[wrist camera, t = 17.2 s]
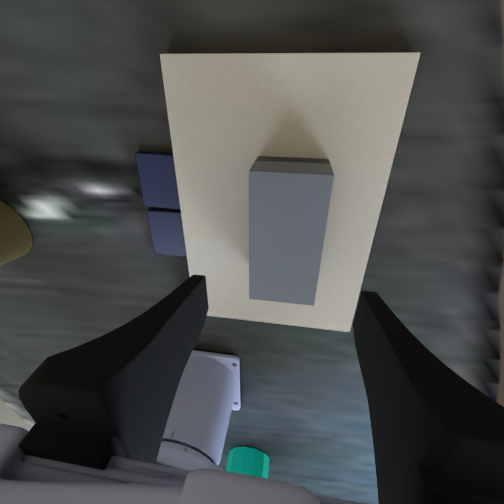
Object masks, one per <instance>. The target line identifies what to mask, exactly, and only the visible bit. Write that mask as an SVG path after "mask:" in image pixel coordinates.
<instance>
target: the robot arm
mask: <svg viewBox="0 0 504 504" xmlns="http://www.w3.org/2000/svg"><path fill="white" fill-rule="evenodd" d="M208 309H209V307H208V296H207V286H206V276H204V275H192V276H191V277H190V278H188V279H187V280H186V281H185V282H183V283H182V284H181V285H180V286H179V287H177V288H176V289H175V290H174V291H173V292H171V293H170V294H169V295H168V296H166V297H165V298H164V299H163V300H161V301H160V302H158V303H157V304H156V305H154V306H153V307H152V308H150V309H149V310H147V311H146V312H144V313H143V314H141V315H140V316H138V317H137V318H135V319H133V320H132V321H130V322H128V323H126V324H125V325H123V326H121V327H119V328H117V329H115V330H113V331H111V332H109V333H107V334H105V335H103V336H101V337H99V338H97V339H94V340H92V341H90V342H87V343H85V344H83V345H80V346H78V347H75V348H72V349H70V350H67V351H64V352H61V353H58V354H55V355H53V356H50V357H47V358H46V359H45V361H44V362H43V363H42V364H41V365H40V366H39V367H38V368H37V369H36V370H35V371H34V373H33V374H32V375H31V376H30V377H29V378H28V379H27V380H26V381H25V382H24V383H23V384H22V386H21V387H20V389H19V398H20V400H21V402H22V404H23V405H24V407H25V408H26V410H27V411H28V412H29V414H30V415H31V417H32V418H33V419H34V421H35V422H36V423H35V425H34V426H33V427H32V428H31V430H30V431H29V432H28V431H27V430H25V429H23V428H21V427H16V426H11V425H6V424H0V504H365V503H359V502H354V501H349V500H344V499H338V498H333V497H328V496H322V495H317V494H314V493H312V492H311V491H309V490H308V489H306V488H305V487H301V486H298V485H295V484H292V483H288V482H282V481H277V480H271V479H266V478H261V477H255V476H250V475H245V474H239V473H234V472H229V471H223V470H222V467H220V466H218V465H219V463H220V460H221V456H222V451H223V447H224V442H225V437H226V433H227V428H228V424H229V419H230V415H231V410H240V407H241V398H240V362H239V358H238V357H237V356H234V355H227V354H219V353H211V352H204V351H196V350H193V349H194V346H195V344H196V342H197V340H198V337H199V335H200V333H201V331H202V328H203V326H204V322H205V319H206V316H207V312H208ZM353 328H354V338H355V346H356V351H357V355H358V359H359V364H360V368H361V372H362V376H363V380H364V385H365V389H366V393H367V398H368V404H369V412H370V419H371V427H372V436H373V444H374V454H375V464H376V475H377V487H378V500H379V504H504V407H503V406H501V405H500V404H498V403H497V402H495V401H494V400H492V399H491V398H489V397H488V396H486V395H485V394H483V393H482V392H480V391H479V390H478V389H476V388H475V387H473V386H472V385H471V384H469V383H468V382H466V381H465V380H464V379H463V378H461V377H460V376H459V375H457V374H456V373H455V372H453V371H452V370H451V369H450V368H448V367H447V366H446V365H445V364H444V363H442V362H441V361H440V360H439V359H438V358H437V357H436V356H434V355H433V354H432V353H431V352H430V351H429V350H428V349H427V348H426V347H425V346H424V345H422V343H421V342H420V341H419V340H418V339H417V338H416V337H415V336H414V335H413V334H412V333H411V332H410V331H409V330H408V329H407V328H406V327H405V326H404V325H403V324H402V323H401V321H400V320H399V319H398V318H397V317H396V316H395V314H394V313H393V312H392V311H391V310H390V308H389V307H388V306H387V305H386V304H385V302H384V301H383V300H382V299H381V298H380V296H379V295H378V294H377V293H376V292H368V291H362V292H361V296H360V300H359V304H358V308H357V311H356V315H355V319H354V323H353Z"/></svg>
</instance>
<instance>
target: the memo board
mask: <svg viewBox="0 0 504 504" xmlns="http://www.w3.org/2000/svg"><path fill="white" fill-rule="evenodd" d="M419 57H420V52H377V53H199V54H160V60H161V68H162V75H163V83H164V90H165V97H166V105H167V112H168V120H169V127H170V135H171V142H172V150H173V157H174V165H175V172H176V179H177V187H178V194H179V202H180V209H181V217H182V224H183V232H184V239H185V247H186V254H187V262H188V269H189V276H190V277H191V276H192V275H204V276H206V286H207V296H208V307H209V309H208V312H207V316H215V317H224V318H232V319H241V320H250V321H258V322H267V323H275V324H284V325H293V326H301V327H310V328H319V329H327V330H336V331H344V332H350V328H351V324H352V320H353V317H354V313H355V309H356V305H357V301H358V297H359V293H360V289H361V285H362V281H363V277H364V273H365V269H366V265H367V262H368V258H369V254H370V250H371V246H372V242H373V238H374V234H375V230H376V226H377V222H378V218H379V214H380V210H381V207H382V203H383V199H384V195H385V191H386V187H387V183H388V179H389V175H390V171H391V167H392V163H393V159H394V155H395V152H396V148H397V144H398V140H399V136H400V132H401V128H402V124H403V120H404V116H405V112H406V108H407V104H408V100H409V97H410V93H411V89H412V85H413V81H414V77H415V73H416V69H417V65H418V61H419ZM258 156H269V157H294V158H319V159H329V161H330V164H331V167H332V170H333V173H334V179H333V186H332V192H331V199H330V206H329V212H328V219H327V225H326V232H325V238H324V245H323V251H322V258H321V264H320V271H319V277H318V284H317V290H316V297H315V304H314V306H311V305H302V304H293V303H283V302H274V301H264V300H255V299H249V170H250V168H251V167H252V165H253V163H254V162H255V161H256V159H257V157H258Z"/></svg>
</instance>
